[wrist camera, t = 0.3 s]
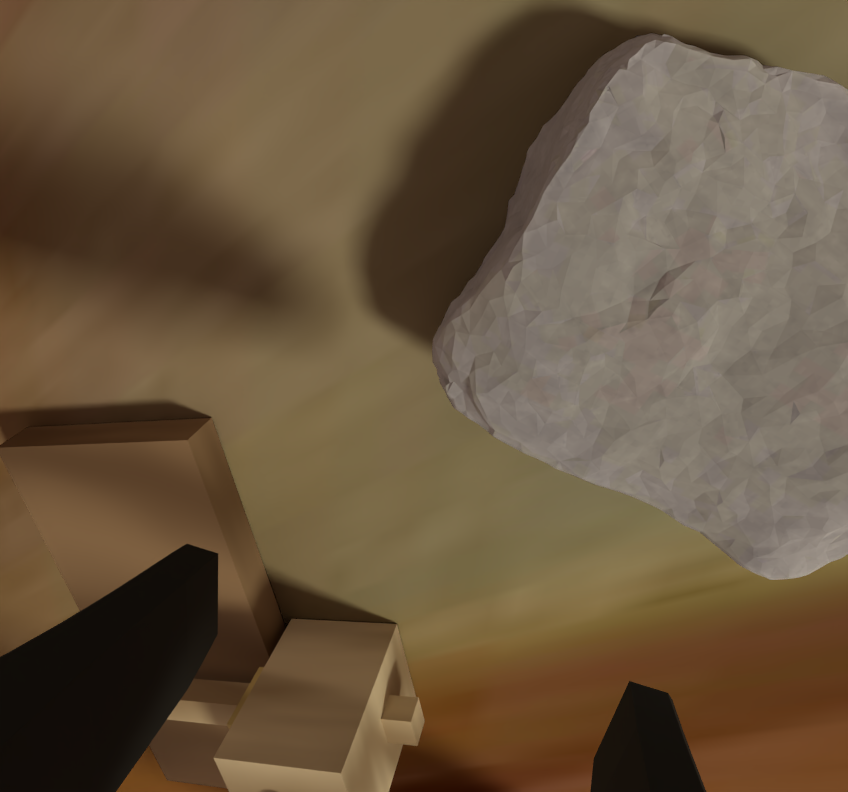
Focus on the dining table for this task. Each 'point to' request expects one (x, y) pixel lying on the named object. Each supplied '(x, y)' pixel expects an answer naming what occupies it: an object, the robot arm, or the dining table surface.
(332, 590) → the dining table surface
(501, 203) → the dining table surface
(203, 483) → the board
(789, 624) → the dining table surface
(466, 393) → the stone block
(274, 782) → the block
